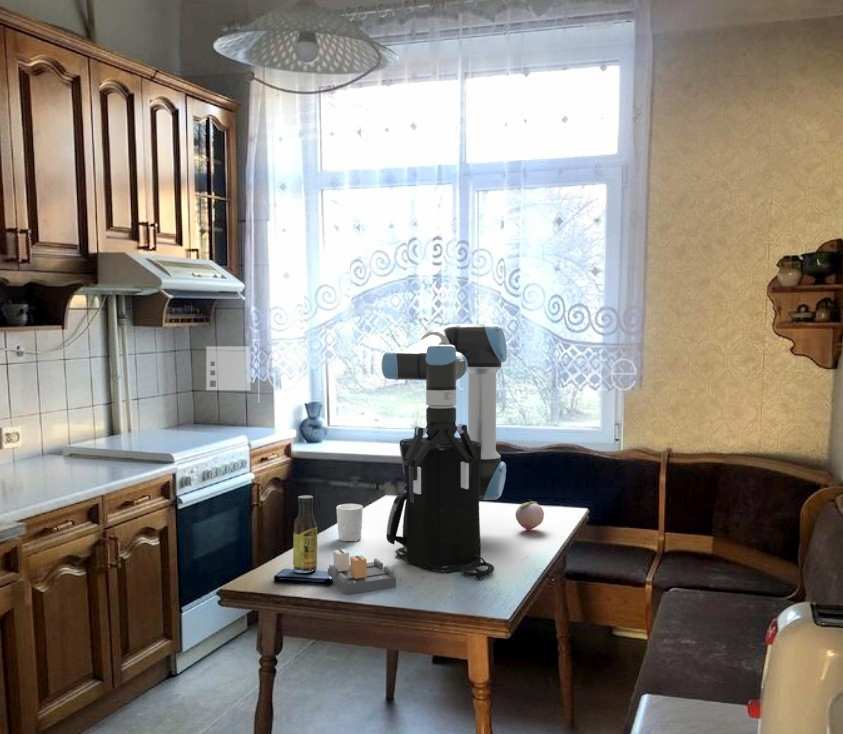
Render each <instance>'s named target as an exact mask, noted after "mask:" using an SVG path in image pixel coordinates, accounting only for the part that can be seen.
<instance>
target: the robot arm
mask: <svg viewBox="0 0 843 734" xmlns="http://www.w3.org/2000/svg"><path fill="white" fill-rule="evenodd" d="M507 348H508V347H507V340H506V336H505V333H504V330H503V328H502V326H500V325H499V324H496V323H495V324H493V323H487V322H486V323H459V324H458V323H453V324H448V325H447V324H446V325H443V326H440V327H437V328H435V329H433V330H430V331H428V332H426V333H425V334H424V335H423V336H422V337H421V339H420V340H419V341H418V342H415V343H414V344H412V345H411V346H409V347H407V348H405V349H402V350H401V351H396V350H393V351H386V352H384V354H383V356H382V358H381V373H382V376H383V377H384V378H385V379H387V380H395V381H400V380H406V381H407V380H409V381H412V380H413V381H415V380H416V381H425V384H426V387H425V396H426V397H425V405H426V406H428V407H427V408H425V410H426V411H425V412H426V413H425V416H426V417H425V420H426V422H425V423H426V426H425V427H420V426H415V427H414V431H413V432H414V434H413V437H412V438H413V439H412V442H411V444H410V446H409V449H408V451H407V453H406V456H405V458H404V460H403V464H405V465H408V466H410V478H411V480H413V492H414V493H416V494H421V468H420V467H418V466H419V464H420V463H421V461H422V460H423V459H424V457H425V456H426V454H427V453H428V451H429V450H430V449H431V447H432V446H434V445H435V444H442V443H445V444H448V443H450V444H451V445H452V446H453V448H454V449H455V450H456V451H457V453H458V454H459V455H460V456H461V458H462V459H463V460H464V462H461V487H462V488H464V489H469V475H471V463H473V462H474V460H477V459H478V455H477V453H476V450H475V448H474V446H473V444H472V442H471V440H472V441H477V442H480V443H481V469H480V493H479V500H483V501H487V500H498V499H499V498H500V497H501V496H502V493H503V490H504V487H505V482H506V474H507V465H506V463H505V462H504V461H502V460H501V459H502V457H501V454H500V453H499V452H498V451H497V448H496V447H497V445H496V444H497V373H498V372H499V371H500V370H501V369H502V363H505V362H506V361H507V357H508V355H507V354H508V350H507ZM466 373H468V376H467V377H468V378H467V379H468V383H467V385H468V386H467V387H468V389H467V391H468V394H467V395H468V396H467V399H468V401H467V403H468V407H467V413H468V414H467V417H468V420H467V422H468V423H467V424H462V423H459V424H457V423H456V422H457V408H456V407H454V406H455V405H457V380H459V379H461V378H462V377H463V376H464V375H465V374H466ZM456 433H458V434H459V438H461V439H462V441H463V444H464V446H465V448H466V450H467V452H468V453H467V452H466V451H465V450H464V448H463V447H462V446H461V445H460V443H459V442H458V440H457V438H458V437H457V436H455V435H456ZM425 434H426V435H427V436H426V437H427V438H426V439H425V441H424V444H423V445H422V446H421V448H420V449H419V451H418V452H417V450H418V448H419V445H420V443H421V441H422V438H423V437H424V436H425ZM456 437H457V438H456ZM416 452H417V453H416Z"/></svg>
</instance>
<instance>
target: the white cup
mask: <svg viewBox="0 0 843 734" xmlns="http://www.w3.org/2000/svg"><path fill="white" fill-rule="evenodd" d="M363 507H364V506H363V505H362V504H358V503H343V504H338V505H337V506H336V523H337V531H338V533H337V534H338V540H339V541H340V540H342V541H356V540H359V539H360V540H361V539H362V528H363V511H364V510H363ZM360 540H359V541H360ZM342 541H341V542H342ZM356 542H357V541H356Z"/></svg>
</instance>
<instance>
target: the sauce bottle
mask: <svg viewBox="0 0 843 734" xmlns="http://www.w3.org/2000/svg"><path fill="white" fill-rule="evenodd" d="M297 503H298V511H297V512H298V514H297V517H296V518H295V520H294V521H293V535H292V536H293V537H292V538H293V541H292V542H293V548H292V549H293V551H292V552H293V553H292V557H293V559H292V561H293V562H292V565H293V571H294V570H302V571H312V570H316V571H317V568H318V525H317V522H316V520H315V517H314V509H313V505H314V504H313V503H314V496H313V495H309V494H307V495H306V494H305V495H300V496H297Z"/></svg>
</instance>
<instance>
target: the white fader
mask: <svg viewBox="0 0 843 734" xmlns="http://www.w3.org/2000/svg"><path fill="white" fill-rule="evenodd" d="M332 553H333V566H334V567H335V568H337V569H338V572H341V571H347V570H349V565H350V552H349V551H348V550H346V549H345V548H344V549H340V548H339V549H336V550H333V552H332Z"/></svg>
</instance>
